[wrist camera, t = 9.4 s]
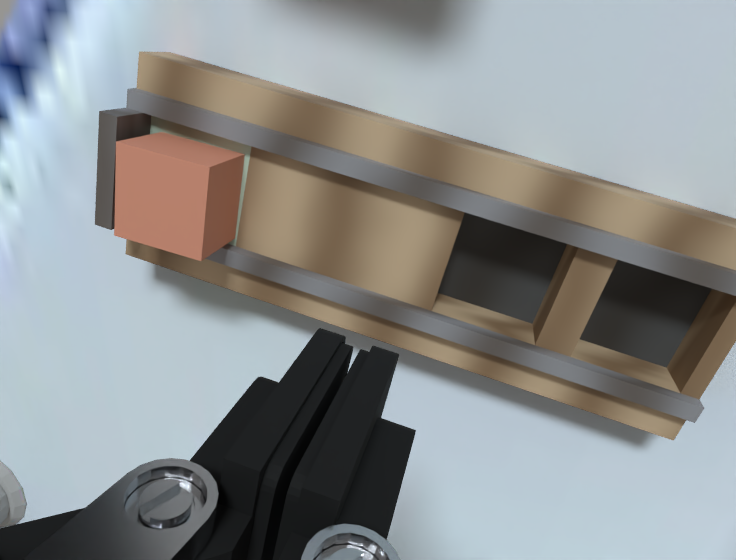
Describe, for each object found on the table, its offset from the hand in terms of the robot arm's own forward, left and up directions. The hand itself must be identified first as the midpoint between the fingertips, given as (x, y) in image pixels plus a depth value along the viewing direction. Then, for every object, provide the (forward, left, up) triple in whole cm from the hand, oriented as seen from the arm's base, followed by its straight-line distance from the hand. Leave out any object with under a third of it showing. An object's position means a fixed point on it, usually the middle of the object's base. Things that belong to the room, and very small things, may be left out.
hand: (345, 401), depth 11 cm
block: (+13, +4, -19) cm, 23 cm away
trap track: (0, +3, -22) cm, 22 cm away
